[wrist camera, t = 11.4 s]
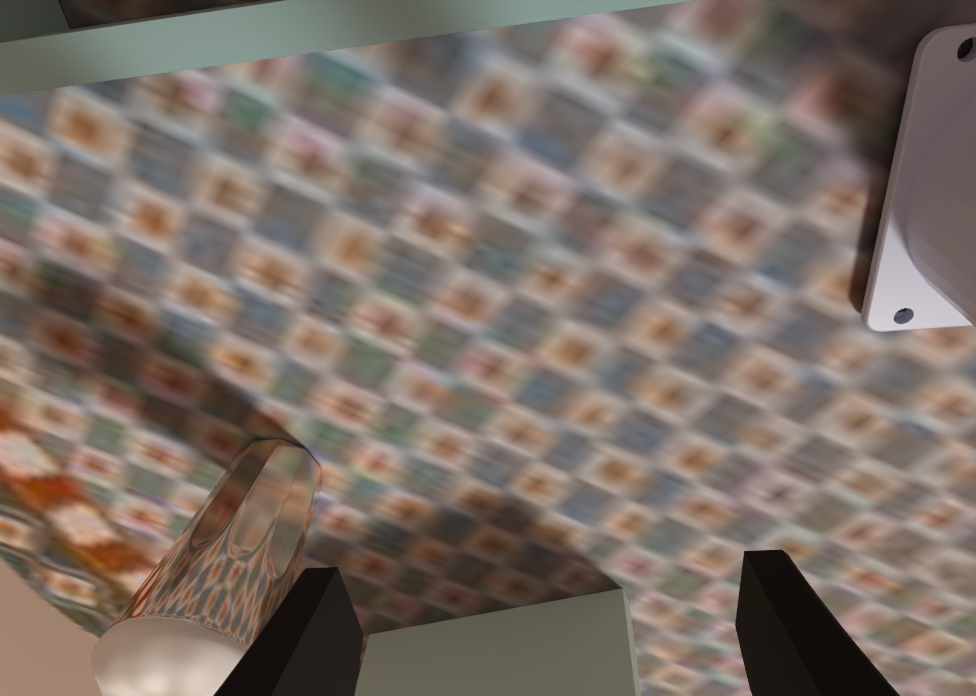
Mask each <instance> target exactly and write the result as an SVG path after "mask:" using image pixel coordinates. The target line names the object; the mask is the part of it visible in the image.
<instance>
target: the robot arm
mask: <svg viewBox="0 0 976 696" xmlns="http://www.w3.org/2000/svg"><path fill="white" fill-rule="evenodd" d="M969 38H972V39H973V47H972V49H971V51H970V52H969V53H968V54H967V55H966V56H965V57H964V58H961V59H958V58H957V50H958V48H959V46H960V45H961V44H962V43H963V42H964V41H965V40H966V39H969ZM904 308H907V310H906V312H905V313H904V314H902V315H901V316H899V317H894V315H895V313H896V312H898V311H899V310H900V309H904ZM861 319H862V320H863V322H864V323H865V324H866V326H867V327H868V328H869V329H871V330H873V331H880V332H882V331H896V330H911V329H925V328H940V327H954V326H969V325H974V326H975V327H976V23H970V24H962V25H954V26H946V27H941V28H938V29H935V30H933V31H932V32H930V33H929V34H927V35H926V36H925V37H924V38H923V39H922V41H921V42H920V43H919V45H918V47H917V50H916V52H915V56H914V61H913V66H912V71H911V75H910V80H909V85H908V90H907V95H906V99H905V104H904V109H903V114H902V119H901V124H900V128H899V133H898V138H897V143H896V148H895V152H894V157H893V162H892V167H891V172H890V177H889V181H888V186H887V191H886V196H885V201H884V206H883V210H882V215H881V220H880V225H879V230H878V234H877V239H876V244H875V249H874V254H873V259H872V263H871V268H870V273H869V278H868V283H867V287H866V292H865V297H864V302H863V307H862V312H861ZM735 626H736V631H737V635H738V639H739V644H740V648H741V653H742V657H743V661H744V666H745V670H746V674H747V678H748V682H749V686H750V690H751V693H752V696H900V695H899V694H898V693H897V692H896V691H895V690H894V688H893V687H892V686H891V685H890V684H889V683H888V682H887V680H886V679H885V678H884V677H883V676H882V674H881V673H880V672H879V671H878V670H877V669H876V667H875V666H874V665H873V664H872V663H871V661H870V660H869V659H868V658H867V657H866V655H865V654H864V653H863V652H862V651H861V650H860V648H859V647H858V646H857V645H856V644H855V642H854V641H853V640H852V639H851V637H850V636H849V635H848V634H847V632H846V631H845V630H844V629H843V627H842V626H841V625H840V624H839V622H838V621H837V620H836V619H835V617H834V616H833V615H832V613H831V612H830V611H829V610H828V608H827V607H826V606H825V605H824V603H823V602H822V601H821V599H820V598H819V597H818V595H817V594H816V593H815V591H814V590H813V589H812V587H811V586H810V585H809V583H808V582H807V581H806V579H805V578H804V576H803V575H802V574H801V572H800V571H799V570H798V568H797V567H796V565H795V564H794V563H793V561H792V560H791V558H790V557H789V555H788V554H787V553H785V552H784V551H783V550H761V551H744V558H743V566H742V574H741V582H740V591H739V599H738V607H737V615H736V623H735ZM362 642H363V632H362V630H361V627H360V624H359V622H358V619H357V617H356V614H355V611H354V609H353V606H352V603H351V601H350V598H349V596H348V593H347V590H346V588H345V585H344V583H343V580H342V577H341V575H340V572H339V569H338V567H328V568H306V569H305V570H304V571H303V572H302V573H301V575H300V576H299V578H298V579H297V580H296V582H295V583H294V585H293V586H292V588H291V589H290V591H289V592H288V593H287V595H286V596H285V598H284V599H283V601H282V602H281V604H280V605H279V606H278V608H277V609H276V611H275V612H274V614H273V615H272V616H271V618H270V619H269V621H268V622H267V624H266V625H265V626H264V628H263V629H262V631H261V632H260V633H259V635H258V636H257V638H256V639H255V640H254V642H253V643H252V645H251V646H250V647H249V649H248V650H247V651H246V653H245V654H244V655H243V657H242V658H241V659H240V661H239V662H238V663H237V665H236V666H235V667H234V669H233V670H232V671H231V673H230V674H229V676H228V677H227V678H226V680H225V681H224V682H223V684H222V685H221V686H220V687H219V689H218V690H217V691H216V693H215V694H214V695H213V696H354V695H355V689H356V683H357V677H358V671H359V664H360V657H361V650H362Z"/></svg>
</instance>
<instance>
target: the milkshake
mask: <svg viewBox="0 0 976 696" xmlns="http://www.w3.org/2000/svg"><path fill="white" fill-rule="evenodd" d="M321 472H322V468H321V467H320V466H319V465H318V464H317V462H316V461H315V460H314V459H313V457H312V456H311V455H310V454H309V452H308V451H307V450H306V449H304V448H301V447H299V446H296V445H294V444H292V443H289V442H287V441H285V440H282V439H270V440H255V441H253V442H252V443H251V444H250V445H249V446H248V447H247V448H246V449H244V450H243V451H242V452H241V453H240V454H239V455H238V456H237V457H236V459H235V460H234V461H233V463H232V464H231V465H230V467H229V468H228V469H227V471H226V472H225V474H224V475H223V476H222V478H221V479H220V480H219V482H218V483H217V485H216V486H215V487H214V489H213V490H212V492H211V493H210V494H209V496H208V497H207V498H206V500H205V501H204V503H203V504H202V505H201V507H200V508H199V509H198V511H197V512H196V514H195V515H194V516H193V518H192V519H191V521H190V522H189V523H188V525H187V526H186V527H185V529H184V530H183V532H182V533H181V534H180V536H179V537H178V538H177V540H176V541H175V543H174V544H173V545H172V547H171V548H170V549H169V551H168V552H167V553H166V555H165V556H164V557H163V559H162V560H161V561H160V563H159V564H158V565H157V566H156V568H155V569H154V570H153V571H152V573H151V574H150V575H149V577H148V578H147V579H146V580H145V582H144V583H143V584H142V586H141V587H140V588H139V589H138V591H137V592H136V593H135V595H134V596H133V597H132V598H131V600H130V601H129V602H128V604H127V605H126V606H125V608H124V609H123V610H122V611H121V613H120V614H119V615H118V617H117V618H116V619H115V620H114V622H113V623H112V624H111V626H110V627H109V628H108V630H107V631H106V632H105V634H104V635H103V636H102V637H101V638H100V639H99V641H98V643H97V644H96V645H95V647H94V649H93V652H92V657H91V664H92V670H93V674H94V677H95V679H96V681H97V682H98V685H99V688H100V691H101V693H102V695H103V696H213V695H214V694H215V693H216V691H217V690H218V689H219V687H220V686H221V685H222V684H223V682H224V681H225V680H226V678H227V677H228V676H229V674H230V673H231V671H232V670H233V669H234V667H235V666H236V665H237V663H238V662H239V661H240V659H241V658H242V657H243V655H244V654H245V653H246V651H247V650H248V649H249V647H250V646H251V645H252V643H253V642H254V640H255V639H256V638H257V636H258V635H259V633H260V632H261V631H262V629H263V628H264V626H265V625H266V624H267V622H268V621H269V619H270V618H271V616H272V615H273V614H274V612H275V611H276V609H277V608H278V606H279V605H280V604H281V602H282V601H283V599H284V598H285V596H286V595H287V593H288V592H289V591H290V589H291V586H292V583H293V580H294V576H295V573H296V570H297V566H298V563H299V560H300V556H301V553H302V550H303V547H304V543H305V540H306V537H307V533H308V530H309V527H310V523H311V520H312V517H313V514H314V510H315V507H316V504H317V500H318V497H319V494H320V490H321Z"/></svg>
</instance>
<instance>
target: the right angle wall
mask: <svg viewBox="0 0 976 696" xmlns="http://www.w3.org/2000/svg"><path fill="white" fill-rule="evenodd" d="M354 696H641V690H640V683H639V675H638V667H637V660H636V652H635V644H634V636H633V629H632V621H631V613H630V606H629V602H628V600H627V597H626V595H625V593H624V590H623V588H622V589H617V590H611V591H606V592H600V593H595V594H589V595H584V596H578V597H573V598H567V599H562V600H556V601H551V602H545V603H540V604H534V605H529V606H523V607H518V608H512V609H507V610H501V611H496V612H490V613H485V614H479V615H474V616H468V617H463V618H457V619H452V620H446V621H441V622H435V623H430V624H424V625H419V626H413V627H408V628H402V629H397V630H391V631H386V632H380V633H375V634H369V637H368V641H367V645H366V649H365V653H364V658H363V662H362V666H361V670H360V674H359V678H358V682H357V686H356V690H355V695H354Z"/></svg>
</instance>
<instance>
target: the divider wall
mask: <svg viewBox="0 0 976 696" xmlns="http://www.w3.org/2000/svg"><path fill="white" fill-rule="evenodd" d="M686 1H693V0H261V1H255V2H248V3H241V4H234V5H228V6H221V7H214V8H208V9H201V10H194V11H188V12H181V13H174V14H168V15H161V16H154V17H148V18H141V19H134V20H128V21H121V22H114V23H108V24H101V25H94V26H88V27H81V28H74V29H70V28H69V25H68V23H67V21H66V18H65V16H64V14H63V11H62V9H61V7H60V4H59V2H58V0H0V95H7V94H14V93H22V92H29V91H36V90H43V89H51V88H58V87H65V86H73V85H80V84H87V83H95V82H102V81H109V80H117V79H124V78H131V77H138V76H146V75H153V74H160V73H168V72H175V71H182V70H190V69H197V68H204V67H211V66H219V65H226V64H233V63H241V62H248V61H255V60H263V59H270V58H277V57H284V56H292V55H299V54H306V53H314V52H321V51H328V50H336V49H343V48H350V47H358V46H365V45H372V44H379V43H387V42H394V41H401V40H409V39H416V38H423V37H431V36H438V35H445V34H452V33H460V32H467V31H474V30H482V29H489V28H496V27H504V26H511V25H518V24H525V23H533V22H540V21H547V20H555V19H562V18H569V17H577V16H584V15H591V14H599V13H606V12H613V11H620V10H628V9H635V8H642V7H650V6H657V5H664V4H672V3H679V2H686Z"/></svg>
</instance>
